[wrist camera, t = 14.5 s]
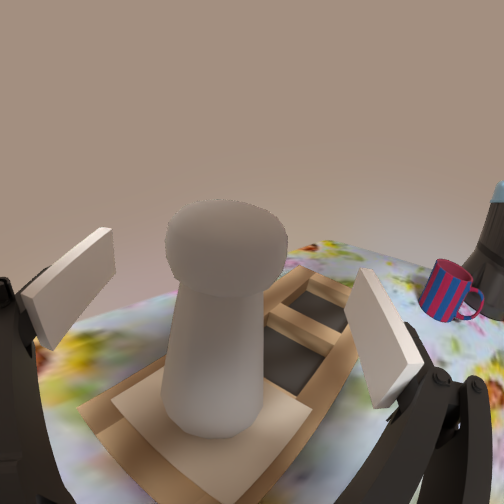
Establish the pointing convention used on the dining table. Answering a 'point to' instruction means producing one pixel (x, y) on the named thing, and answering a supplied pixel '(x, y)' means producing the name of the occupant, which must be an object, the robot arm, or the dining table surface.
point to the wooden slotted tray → (268, 420)
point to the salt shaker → (219, 314)
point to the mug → (447, 292)
